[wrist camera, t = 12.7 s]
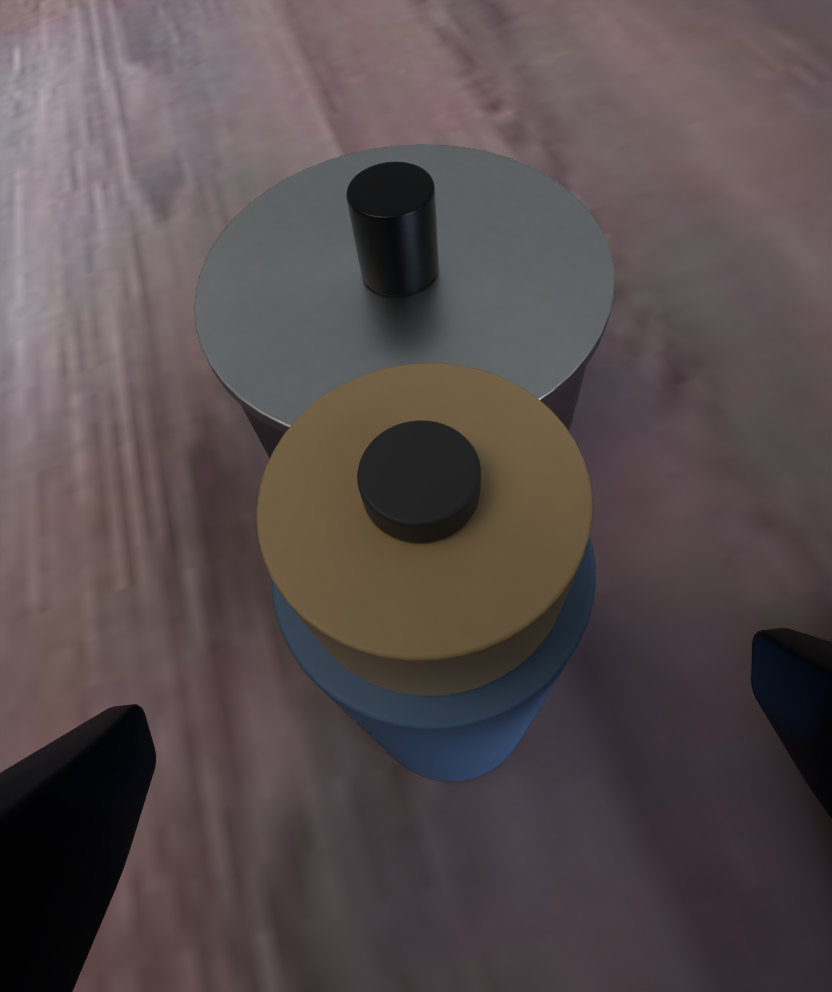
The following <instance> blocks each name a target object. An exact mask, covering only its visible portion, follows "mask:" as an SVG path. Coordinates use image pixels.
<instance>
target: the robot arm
mask: <svg viewBox="0 0 832 992" xmlns="http://www.w3.org/2000/svg"><path fill="white" fill-rule="evenodd" d="M751 684H752V689H753V693H754V695H755V698H756V700H757V701H758V703H759V705H760V706H761V708H762V710H763V711H764V713H765V715H766V716H767V718H768V720H769V721H770V723H771V725H772V726H773V728H774V730H775V731H776V733H777V735H778V736H779V738H780V740H781V741H782V743H783V745H784V746H785V748H786V750H787V751H788V753H789V755H790V756H791V758H792V760H793V761H794V763H795V765H796V766H797V768H798V770H799V771H800V773H801V775H802V776H803V778H804V779H805V781H806V783H807V784H808V786H809V787H810V789H811V790H812V792H813V793H814V795H815V796H816V798H817V799H818V800H819V802H820V803H821V805H822V806H823V807H824V809H825V810H826V812H827V813H828V814H829V816H830V817H831V818H832V642H830V641H827V640H824V639H820V638H817V637H814V636H811V635H807V634H804V633H801V632H798V631H794V630H791V629H787V628H778V629H769V630H762V631H758V632H757V633H756V634H755V635H754V638H753V642H752V668H751ZM155 765H156V751H155V747H154V744H153V740H152V737H151V733H150V730H149V726H148V723H147V719H146V715H145V713H144V710H143V709H142V707H140V706H139V705H136V704H132V705H123V706H115V707H111V708H108V709H106V710H105V711H103V712H101V713H100V714H98V715H96V716H95V717H93V718H91V719H90V720H88V721H86V722H85V723H83V724H81V725H80V726H78V727H76V728H75V729H73V730H71V731H70V732H68V733H66V734H65V735H63V736H61V737H60V738H58V739H56V740H55V741H53V742H51V743H50V744H48V745H46V746H45V747H43V748H41V749H40V750H38V751H36V752H34V753H33V754H31V755H29V756H28V757H26V758H24V759H23V760H21V761H19V762H18V763H16V764H14V765H13V766H11V767H9V768H8V769H6V770H4V771H3V772H1V773H0V992H72V991H73V989H74V987H75V984H76V982H77V980H78V977H79V975H80V972H81V970H82V968H83V965H84V963H85V960H86V958H87V956H88V953H89V951H90V949H91V946H92V944H93V941H94V939H95V937H96V934H97V932H98V930H99V927H100V925H101V922H102V920H103V918H104V915H105V913H106V911H107V908H108V906H109V903H110V901H111V899H112V896H113V894H114V891H115V889H116V887H117V884H118V881H119V879H120V876H121V874H122V871H123V869H124V866H125V863H126V860H127V857H128V854H129V851H130V848H131V844H132V841H133V838H134V835H135V831H136V828H137V825H138V822H139V818H140V815H141V812H142V809H143V805H144V802H145V799H146V796H147V793H148V789H149V786H150V783H151V780H152V776H153V773H154V770H155Z"/></svg>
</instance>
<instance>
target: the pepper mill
mask: <svg viewBox="0 0 832 992" xmlns="http://www.w3.org/2000/svg"><path fill="white" fill-rule="evenodd" d="M592 517H593V509H592V491H591V485H590V478H589V475H588V472H587V468H586V465H585V462H584V459H583V457H582V455H581V453H580V451H579V449H578V446H577V444H576V442H575V440H574V439H573V437H572V436H571V434H570V433H569V431H568V430H567V428H566V427H565V425H564V424H563V423H562V422H561V421H560V420H559V418H558V417H557V416H556V415H555V414H554V413H553V412H552V411H551V410H550V409H549V408H548V407H547V406H546V405H545V404H544V403H542V402H541V401H540V400H539V399H538V398H537V397H535V396H534V395H532V394H531V393H529V392H528V391H526V390H525V389H523V388H522V387H520V386H518V385H516V384H514V383H512V382H510V381H509V380H507V379H505V378H502V377H500V376H497V375H494V374H492V373H489V372H486V371H483V370H479V369H475V368H471V367H467V366H461V365H454V364H444V363H416V364H406V365H400V366H393V367H389V368H385V369H381V370H377V371H373V372H371V373H368V374H365V375H362V376H360V377H357V378H355V379H353V380H351V381H349V382H347V383H345V384H342V385H340V386H338V387H337V388H335V389H334V390H332V391H330V392H329V393H327V394H326V395H324V396H323V397H321V398H320V399H319V400H317V401H316V402H315V403H314V404H312V405H311V406H310V407H309V408H307V409H306V410H305V411H304V412H303V413H302V414H301V415H300V416H299V417H298V418H297V419H296V420H295V421H294V423H293V424H292V425H291V426H290V428H289V429H288V430H287V432H286V433H285V434H284V435H283V437H282V438H281V440H280V442H279V443H278V445H277V446H276V448H275V450H274V451H273V453H272V455H271V458H270V460H269V462H268V465H267V467H266V469H265V472H264V475H263V479H262V482H261V486H260V490H259V497H258V504H257V532H258V538H259V545H260V549H261V552H262V556H263V559H264V562H265V565H266V568H267V570H268V572H269V574H270V576H271V578H272V595H273V602H274V608H275V613H276V617H277V620H278V623H279V626H280V630H281V633H282V635H283V637H284V639H285V641H286V643H287V645H288V647H289V649H290V651H291V653H292V654H293V656H294V657H295V659H296V660H297V662H298V663H299V665H300V666H301V668H302V669H303V670H304V671H305V673H306V674H307V675H308V676H309V677H310V678H311V679H312V680H313V681H314V683H315V684H316V685H317V686H318V687H319V688H320V689H322V690H323V691H324V692H325V693H326V694H327V695H328V696H329V697H330V698H331V699H332V700H333V701H334V702H335V703H336V704H337V705H339V706H340V707H341V708H342V709H343V710H344V711H345V712H346V713H347V714H348V715H349V716H350V717H351V718H352V719H353V720H355V721H356V722H357V723H358V724H359V725H360V726H361V727H362V728H363V729H364V730H365V731H366V732H367V733H368V734H369V735H370V736H372V737H373V738H374V739H375V740H376V741H377V742H378V743H379V744H380V745H381V746H382V747H383V748H384V749H385V750H386V751H388V752H389V753H390V754H391V755H392V756H393V757H394V758H395V759H396V760H397V761H399V762H400V763H401V764H402V765H403V766H405V767H406V768H408V769H409V770H411V771H413V772H414V773H417V774H419V775H421V776H423V777H426V778H430V779H433V780H439V781H463V780H469V779H472V778H475V777H479V776H481V775H483V774H485V773H487V772H489V771H491V770H492V769H494V768H495V767H497V766H498V765H500V764H501V763H502V762H503V761H504V760H505V759H506V758H507V757H508V756H509V755H510V754H511V753H512V752H513V750H514V749H515V748H516V746H517V744H518V743H519V741H520V740H521V738H522V736H523V735H524V733H525V731H526V730H527V728H528V727H529V725H530V723H531V722H532V720H533V718H534V717H535V715H536V713H537V712H538V710H539V708H540V707H541V705H542V703H543V702H544V700H545V699H546V697H547V695H548V694H549V692H550V690H551V689H552V687H553V685H554V684H555V682H556V680H557V679H558V677H559V675H560V674H561V672H562V670H563V669H564V667H565V666H566V664H567V662H568V661H569V659H570V657H571V656H572V654H573V652H574V651H575V649H576V647H577V646H578V644H579V642H580V639H581V637H582V635H583V633H584V631H585V628H586V626H587V623H588V620H589V616H590V613H591V609H592V606H593V599H594V592H595V585H596V581H595V558H594V552H593V545H592V541H591V538H590V531H591V524H592Z"/></svg>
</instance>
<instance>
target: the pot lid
mask: <svg viewBox="0 0 832 992" xmlns="http://www.w3.org/2000/svg"><path fill="white" fill-rule="evenodd" d="M613 297H614V267H613V262H612V256H611V252H610V249H609V246H608V244H607V241H606V238H605V236H604V233H603V232H602V230H601V228H600V227H599V225H598V223H597V222H596V220H595V218H594V217H593V215H592V214H591V213H590V212H589V211H588V209H587V208H586V207H585V206H584V205H583V203H582V202H581V201H580V200H579V199H577V198H576V197H575V196H574V195H573V194H572V193H571V192H570V191H569V190H568V189H566V188H565V187H564V186H562V185H561V184H559V183H558V182H556V181H555V180H554V179H552V178H551V177H549V176H547V175H546V174H544V173H542V172H540V171H538V170H536V169H534V168H532V167H530V166H528V165H526V164H523V163H521V162H518V161H516V160H513V159H511V158H508V157H504V156H501V155H497V154H494V153H491V152H487V151H482V150H476V149H471V148H466V147H457V146H448V145H424V144H418V145H400V146H390V147H383V148H375V149H370V150H365V151H360V152H356V153H351V154H348V155H344V156H341V157H338V158H334V159H331V160H328V161H325V162H323V163H320V164H317V165H315V166H312V167H310V168H307V169H305V170H303V171H301V172H299V173H297V174H295V175H293V176H291V177H289V178H287V179H285V180H283V181H282V182H280V183H279V184H277V185H275V186H274V187H272V188H270V189H269V190H267V191H266V192H264V193H263V194H262V195H260V196H259V197H258V198H256V199H255V200H254V201H253V202H251V203H250V204H249V205H248V206H247V207H246V208H245V209H243V210H242V211H241V212H240V213H239V214H238V215H237V216H236V217H235V218H234V219H233V220H232V221H231V223H230V224H229V225H228V226H227V227H226V228H225V230H224V231H223V232H222V233H221V235H220V236H219V238H218V239H217V241H216V242H215V244H214V245H213V247H212V248H211V250H210V252H209V254H208V256H207V258H206V260H205V263H204V265H203V267H202V269H201V273H200V276H199V280H198V283H197V287H196V295H195V304H194V311H195V325H196V330H197V334H198V338H199V342H200V345H201V348H202V350H203V352H204V354H205V356H206V358H207V360H208V363H209V365H210V367H211V368H212V370H213V372H214V374H215V375H216V377H217V378H218V379H219V381H220V382H221V384H222V385H223V386H224V388H225V389H226V390H227V392H228V393H229V394H230V395H231V396H232V397H233V398H234V399H235V400H236V401H237V402H238V403H239V404H240V405H241V406H242V407H243V408H244V409H246V410H247V411H248V412H250V413H251V414H253V415H254V416H255V417H257V418H258V419H260V420H261V421H263V422H264V423H265V424H267V425H269V426H271V427H273V428H275V429H277V430H279V431H281V432H283V433H286V432H287V430H288V429H289V428H290V426H291V425H292V424H293V423H294V421H295V420H296V419H297V418H298V417H299V416H300V415H301V414H302V413H303V412H304V411H305V410H306V409H307V408H309V407H310V406H311V405H312V404H314V403H315V402H316V401H317V400H319V399H320V398H321V397H323V396H324V395H326V394H327V393H329V392H330V391H332V390H334V389H335V388H337V387H338V386H340V385H342V384H345V383H347V382H349V381H351V380H353V379H355V378H357V377H360V376H362V375H365V374H368V373H371V372H373V371H377V370H381V369H385V368H389V367H393V366H400V365H406V364H416V363H444V364H454V365H461V366H467V367H471V368H475V369H479V370H483V371H486V372H489V373H492V374H494V375H497V376H500V377H502V378H505V379H507V380H509V381H510V382H512V383H514V384H516V385H518V386H520V387H522V388H523V389H525V390H526V391H528V392H529V393H531V394H532V395H534V396H535V397H537V398H538V399H539V400H540V401H541V402H542V403H544V404H545V405H547V404H548V403H550V402H551V401H552V400H553V399H554V398H555V397H556V396H558V395H559V394H560V393H561V392H562V391H563V390H564V389H566V388H567V387H568V386H569V385H570V384H571V383H572V382H573V380H574V379H575V378H576V377H577V376H578V375H579V373H580V372H581V371H582V370H583V369H584V368H585V366H586V365H587V364H588V362H589V360H590V359H591V357H592V355H593V354H594V352H595V351H596V349H597V347H598V346H599V343H600V341H601V338H602V336H603V333H604V331H605V328H606V326H607V323H608V319H609V316H610V312H611V307H612V302H613Z"/></svg>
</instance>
